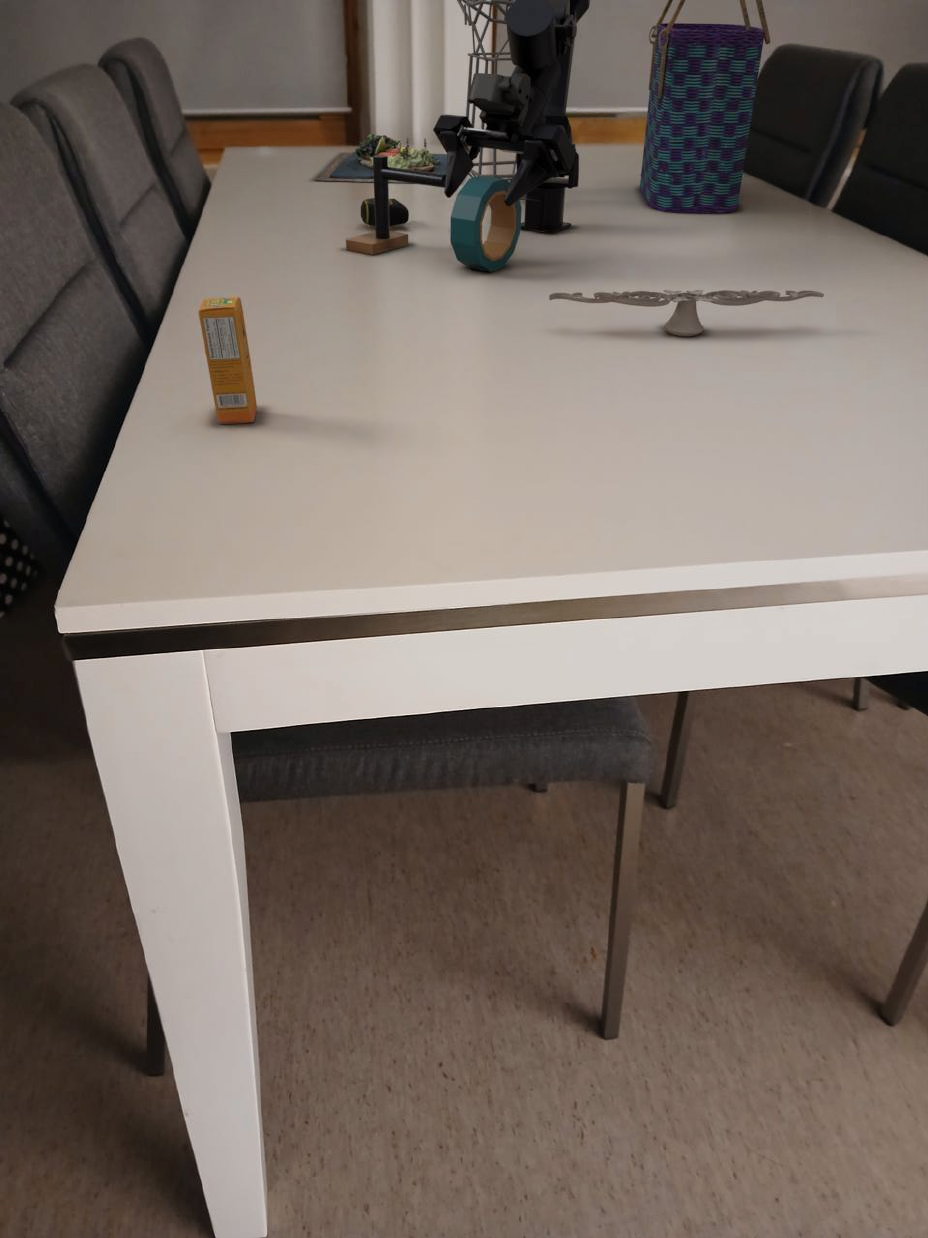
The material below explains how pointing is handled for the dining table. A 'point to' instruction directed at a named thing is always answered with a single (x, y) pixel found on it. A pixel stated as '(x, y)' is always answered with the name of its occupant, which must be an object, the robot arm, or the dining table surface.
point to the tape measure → (396, 212)
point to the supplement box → (228, 359)
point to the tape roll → (470, 220)
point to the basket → (700, 112)
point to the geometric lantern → (472, 2)
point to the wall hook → (686, 303)
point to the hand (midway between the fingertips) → (476, 199)
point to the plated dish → (361, 161)
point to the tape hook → (382, 193)
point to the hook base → (376, 243)
